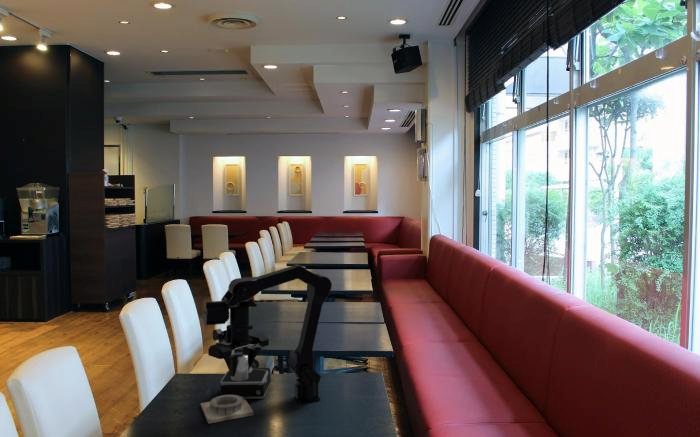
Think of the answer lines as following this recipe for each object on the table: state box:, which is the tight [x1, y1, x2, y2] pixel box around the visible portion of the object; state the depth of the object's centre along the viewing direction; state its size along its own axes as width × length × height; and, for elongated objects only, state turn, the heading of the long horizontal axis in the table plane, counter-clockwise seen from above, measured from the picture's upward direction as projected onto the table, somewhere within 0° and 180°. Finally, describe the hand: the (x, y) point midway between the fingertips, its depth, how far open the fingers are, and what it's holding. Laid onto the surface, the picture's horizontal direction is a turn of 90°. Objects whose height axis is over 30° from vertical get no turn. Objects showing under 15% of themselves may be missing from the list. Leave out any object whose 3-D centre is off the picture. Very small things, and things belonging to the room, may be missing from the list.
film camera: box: [219, 357, 272, 400], centre depth 176 cm, size 8×16×15 cm
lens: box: [231, 351, 248, 381], centre depth 158 cm, size 5×5×7 cm
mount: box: [200, 395, 255, 424], centre depth 160 cm, size 13×13×3 cm
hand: (239, 373), depth 158 cm, fingers closed on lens, 5 cm apart
